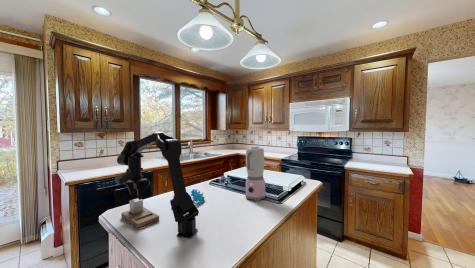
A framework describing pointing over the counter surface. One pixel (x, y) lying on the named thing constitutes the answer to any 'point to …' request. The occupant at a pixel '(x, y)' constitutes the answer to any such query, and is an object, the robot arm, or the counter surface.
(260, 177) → the blender
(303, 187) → the counter surface
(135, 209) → the square bit
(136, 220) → the socket block
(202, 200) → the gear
